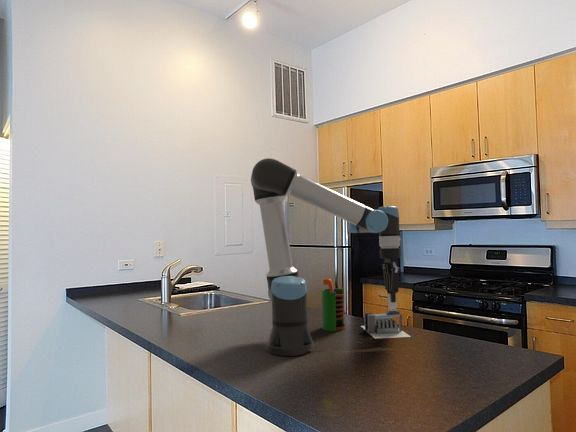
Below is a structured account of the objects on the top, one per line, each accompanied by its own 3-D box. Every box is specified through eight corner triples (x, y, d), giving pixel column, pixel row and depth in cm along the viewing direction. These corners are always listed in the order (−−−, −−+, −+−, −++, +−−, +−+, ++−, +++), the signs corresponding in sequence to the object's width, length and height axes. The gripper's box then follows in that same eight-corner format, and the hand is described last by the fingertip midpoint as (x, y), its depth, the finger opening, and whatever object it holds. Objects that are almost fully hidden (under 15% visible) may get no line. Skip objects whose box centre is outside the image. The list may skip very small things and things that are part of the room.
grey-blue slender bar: (399, 317, 152) (399, 311, 152) (368, 319, 151) (368, 313, 151) (396, 315, 155) (396, 309, 155) (366, 317, 154) (366, 312, 154)
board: (411, 339, 144) (411, 336, 144) (375, 341, 142) (375, 338, 142) (392, 326, 163) (392, 324, 163) (360, 328, 161) (360, 325, 161)
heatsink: (398, 333, 149) (398, 320, 149) (377, 334, 148) (376, 321, 148) (391, 328, 157) (390, 316, 157) (370, 328, 156) (370, 317, 156)
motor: (344, 334, 153) (342, 280, 154) (320, 333, 155) (319, 280, 156) (346, 328, 163) (344, 277, 164) (323, 327, 165) (322, 277, 165)
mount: (404, 331, 151) (403, 314, 151) (368, 333, 149) (368, 315, 150) (399, 328, 156) (398, 311, 156) (364, 330, 155) (364, 312, 155)
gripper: (406, 247, 148) (408, 313, 147) (393, 246, 161) (396, 306, 160) (385, 248, 147) (388, 314, 146) (374, 247, 160) (377, 307, 159)
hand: (392, 310), depth 153 cm, fingers closed
